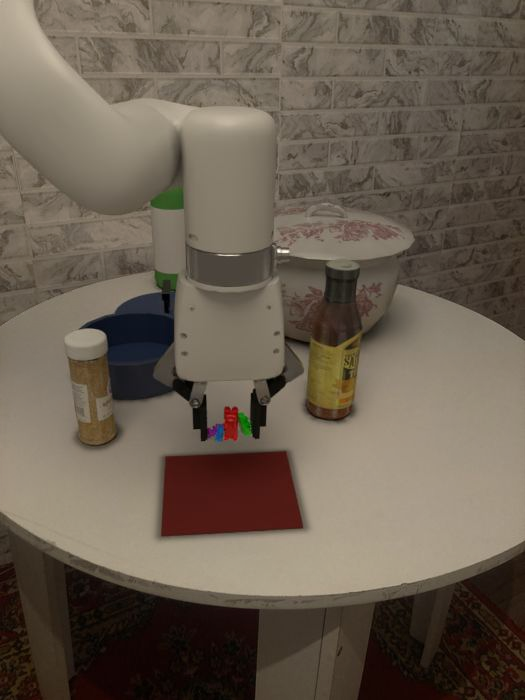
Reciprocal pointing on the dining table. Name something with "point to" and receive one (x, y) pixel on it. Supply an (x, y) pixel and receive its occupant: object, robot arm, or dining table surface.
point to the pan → (135, 350)
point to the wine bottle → (168, 236)
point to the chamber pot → (333, 244)
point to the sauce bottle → (335, 344)
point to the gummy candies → (230, 425)
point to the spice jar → (91, 385)
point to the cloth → (228, 494)
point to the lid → (152, 301)
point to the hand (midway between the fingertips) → (229, 430)
